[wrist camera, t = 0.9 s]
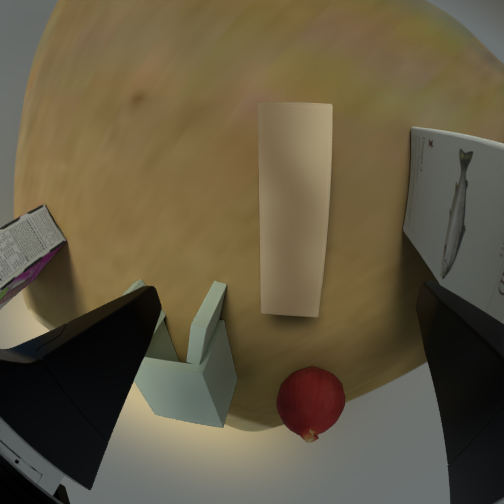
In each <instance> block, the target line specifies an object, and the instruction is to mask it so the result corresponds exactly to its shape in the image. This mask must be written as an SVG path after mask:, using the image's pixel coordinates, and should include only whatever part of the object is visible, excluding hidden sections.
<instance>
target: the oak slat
mask: <svg viewBox="0 0 504 504" xmlns="http://www.w3.org/2000/svg"><path fill="white" fill-rule="evenodd" d="M257 106H258V149H259V200H260V267H261V313H263V314H275V315H289V316H304V317H318V313H319V305H320V298H321V289H322V281H323V272H324V263H325V252H326V242H327V230H328V217H329V202H330V184H331V161H332V104H321V103H296V102H262V103H257Z"/></svg>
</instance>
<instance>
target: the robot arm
mask: <svg viewBox="0 0 504 504" xmlns="http://www.w3.org/2000/svg"><path fill="white" fill-rule="evenodd" d="M161 310H162V307H161V303H160V300H159V297H158V294H157V290H156V288H155V287H154V286H142V287H140V288H138V289H136V290H134V291H132V292H130V293H128V294H126V295H123V296H121V297H119V298H117V299H115V300H113V301H111V302H109V303H107V304H105V305H103V306H101V307H99V308H97V309H95V310H92V311H90V312H88V313H86V314H84V315H82V316H80V317H78V318H76V319H74V320H72V321H70V322H68V323H67V324H64V325H62V326H60V327H58V328H56V329H54V330H52V331H49V332H47V333H45V334H43V335H41V336H38V337H36V338H34V339H32V340H29V341H27V342H25V343H22V344H20V345H18V346H15V347H13V348H9V349H0V504H70V502H69V499H68V495H67V491H66V488H65V486H63V485H61V484H60V482H61V480H62V479H63V477H64V476H66V477H68V478H69V479H71V480H73V481H74V482H76V483H77V484H79V485H81V486H83V487H84V488H86V489H88V490H91V488H92V486H93V483H94V481H95V477H96V475H97V472H98V469H99V466H100V464H101V461H102V458H103V455H104V453H105V450H106V448H107V445H108V441H109V439H110V437H111V434H112V432H113V429H114V427H115V424H116V422H117V419H118V417H119V414H120V412H121V410H122V407H123V405H124V402H125V400H126V398H127V395H128V393H129V391H130V388H131V386H132V384H133V381H134V379H135V377H136V375H137V372H138V370H139V368H140V366H141V363H142V361H143V359H144V357H145V354H146V352H147V350H148V348H149V345H150V343H151V340H152V337H153V334H154V331H155V328H156V325H157V322H158V319H159V317H160V314H161ZM416 310H417V315H418V319H419V324H420V329H421V335H422V340H423V345H424V350H425V354H426V357H427V361H428V365H429V368H430V372H431V376H432V380H433V384H434V388H435V393H436V397H437V402H438V406H439V411H440V417H441V422H442V427H443V433H444V440H445V447H446V453H447V462H448V464H449V465H448V472H449V473H448V474H449V486H450V504H504V324H503V323H501V322H500V321H498V320H497V319H495V318H494V317H492V316H491V315H489V314H487V313H486V312H484V311H483V310H481V309H479V308H478V307H476V306H475V305H473V304H471V303H470V302H468V301H466V300H465V299H463V298H461V297H460V296H458V295H456V294H455V293H453V292H451V291H450V290H448V289H446V288H444V287H443V286H441V285H439V284H438V283H436V282H434V281H424V282H422V283H421V285H420V289H419V294H418V299H417V304H416Z"/></svg>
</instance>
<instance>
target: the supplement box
mask: <svg viewBox="0 0 504 504" xmlns="http://www.w3.org/2000/svg"><path fill="white" fill-rule="evenodd" d="M403 231H404V233H405V234H406V236H407V237H408V238H409V240H410V241H411V242H412V244H413V245H414V247H415V248H416V249H417V251H418V252H419V254H420V255H421V257H422V258H423V260H424V261H425V262H426V264H427V265H428V267H429V268H430V270H431V271H432V273H433V275H434V276H435V278H436V279H437V281H438V282H439V284H440V285H441V286H443V287H444V288H446V289H448V290H450V291H451V292H453V293H455V294H456V295H458V296H460V297H461V298H463V299H465V300H466V301H468V302H470V303H471V304H473V305H475V306H476V307H478V308H479V309H481V310H483V311H484V312H486V313H487V314H489V315H491V316H492V317H494V318H495V319H497V320H498V321H500V322H501V323H503V324H504V144H503V143H500V142H496V141H492V140H488V139H484V138H479V137H475V136H471V135H466V134H461V133H456V132H450V131H443V130H436V129H429V128H421V127H412V128H411V171H410V183H409V192H408V200H407V208H406V214H405V220H404V226H403Z"/></svg>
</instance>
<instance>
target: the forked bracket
mask: <svg viewBox="0 0 504 504" xmlns="http://www.w3.org/2000/svg"><path fill="white" fill-rule="evenodd" d="M142 286H146V285H145V284H144V282H143V281H142V279H141V280H139V281H137V282H134V283H133V284H132V286H131V287H130V288H129V289H128V290H127V291H126V292H125V293H124V294H123V295H126V294H128V293H130V292H132V291H134V290H136V289H138V288H140V287H142ZM226 286H227V284H224V283H221V282H218V281H214V283H213V285H212V286H211V288H210V290H209V292H208V294H207V296H206V298H205V299H204V301H203V303H202V305H201V307H200V309H199V311H198V312H197V314H196V316H195V318H194V320H193V322H192V324H191V330H190V338H189V345H188V353H187V362H189V363H192V364H188V363H180V362H179V359H178V357H177V354H176V352H175V349H174V347H173V344H172V341H171V339H170V336H169V333H168V331H167V328H166V325H165V322H164V320H163V319H164V317H165V316H166V314H165V313H164V311H163V310H161V314H160V317H159V319H158V322H157V325H156V328H155V331H154V334H153V337H152V340H151V343H150V345H149V348H148V350H147V352H146V354H145V357H144V359H143V361H142V363H141V366H140V368H139V370H138V372H137V375H136V377H135V379H134V382H135V383H136V385H137V387H138V388H139V390H140V392H141V393H142V395H143V397H144V398H145V400H146V401H147V403H148V404H149V406H150V408H151V409H152V411H153V412H154V414H155V415H159V416H163V417H167V418H172V419H176V420H181V421H186V422H191V423H196V424H202V425H208V426H214V427H221V428H223V427H224V424H225V420H226V417H227V413H228V410H229V407H230V403H231V400H232V396H233V393H234V389H235V386H236V382H237V375H236V371H235V367H234V363H233V358H232V354H231V350H230V345H229V341H228V336H227V332H226V327H225V323H224V320H219V317H220V312H221V308H222V304H223V299H224V295H225V290H226ZM123 295H122V296H123Z"/></svg>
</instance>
